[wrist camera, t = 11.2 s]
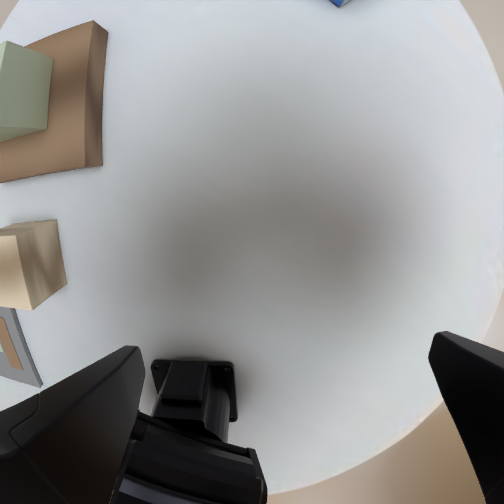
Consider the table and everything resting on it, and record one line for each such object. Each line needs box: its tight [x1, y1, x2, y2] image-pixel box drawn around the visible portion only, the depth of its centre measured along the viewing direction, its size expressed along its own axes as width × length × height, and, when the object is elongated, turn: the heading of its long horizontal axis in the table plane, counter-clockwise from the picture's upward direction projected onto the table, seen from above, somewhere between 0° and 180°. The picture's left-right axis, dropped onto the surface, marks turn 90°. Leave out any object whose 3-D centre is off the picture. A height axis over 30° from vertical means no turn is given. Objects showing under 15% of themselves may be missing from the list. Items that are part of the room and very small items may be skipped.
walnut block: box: [0, 20, 108, 183], centre depth 16 cm, size 10×10×3 cm
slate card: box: [0, 306, 43, 388], centre depth 22 cm, size 10×8×1 cm
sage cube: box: [0, 41, 53, 142], centre depth 12 cm, size 5×5×5 cm
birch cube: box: [0, 220, 67, 310], centre depth 18 cm, size 5×5×5 cm
